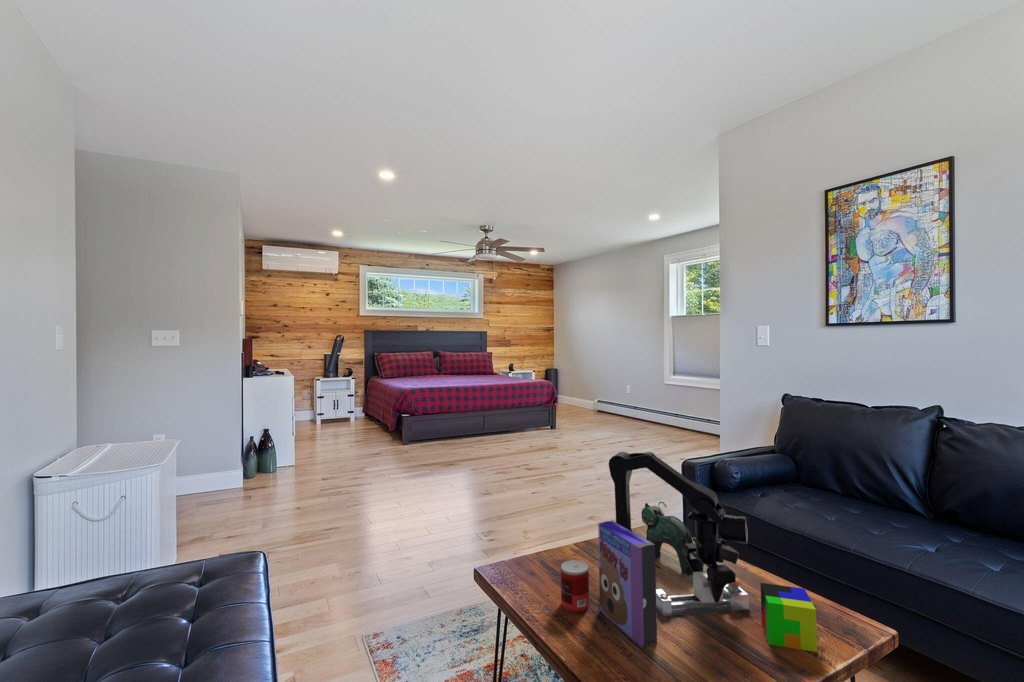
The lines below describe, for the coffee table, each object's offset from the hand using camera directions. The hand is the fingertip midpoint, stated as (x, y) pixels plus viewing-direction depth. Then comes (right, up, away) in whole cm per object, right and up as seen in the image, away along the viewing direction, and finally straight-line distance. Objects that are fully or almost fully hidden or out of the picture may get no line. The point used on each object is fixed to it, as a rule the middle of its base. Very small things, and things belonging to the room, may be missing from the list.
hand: (707, 592), depth 129 cm
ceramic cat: (-2, -4, +26) cm, 26 cm away
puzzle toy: (+14, -3, -14) cm, 20 cm away
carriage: (0, -1, 0) cm, 1 cm away
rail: (-2, -4, 0) cm, 4 cm away
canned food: (-37, -4, +1) cm, 37 cm away
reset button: (+8, -2, +1) cm, 8 cm away
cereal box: (-25, -4, -9) cm, 26 cm away
